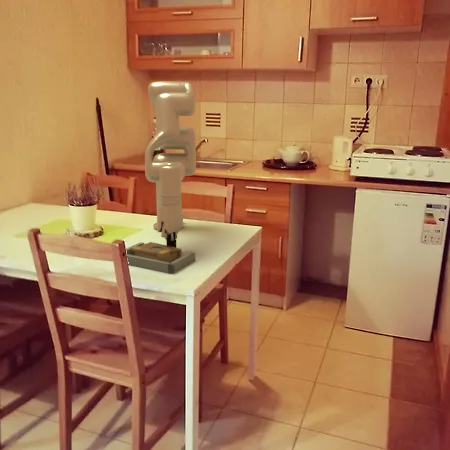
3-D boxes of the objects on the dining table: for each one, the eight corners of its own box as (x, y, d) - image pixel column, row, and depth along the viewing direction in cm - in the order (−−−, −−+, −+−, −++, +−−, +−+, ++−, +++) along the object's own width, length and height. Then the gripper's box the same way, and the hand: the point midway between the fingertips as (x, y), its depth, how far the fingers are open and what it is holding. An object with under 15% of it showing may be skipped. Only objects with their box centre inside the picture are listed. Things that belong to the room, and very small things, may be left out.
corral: (141, 250, 178) (140, 242, 177) (195, 260, 168) (195, 252, 167) (115, 261, 165) (114, 253, 164) (171, 273, 155) (171, 264, 154)
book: (130, 259, 169) (130, 245, 168) (152, 251, 178) (152, 238, 177) (162, 267, 161) (162, 253, 160) (183, 259, 170) (183, 245, 169)
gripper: (173, 195, 178) (174, 243, 183) (149, 203, 165) (150, 254, 170) (190, 197, 174) (191, 246, 179) (167, 205, 162) (168, 257, 167)
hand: (171, 249), depth 175 cm, fingers closed
